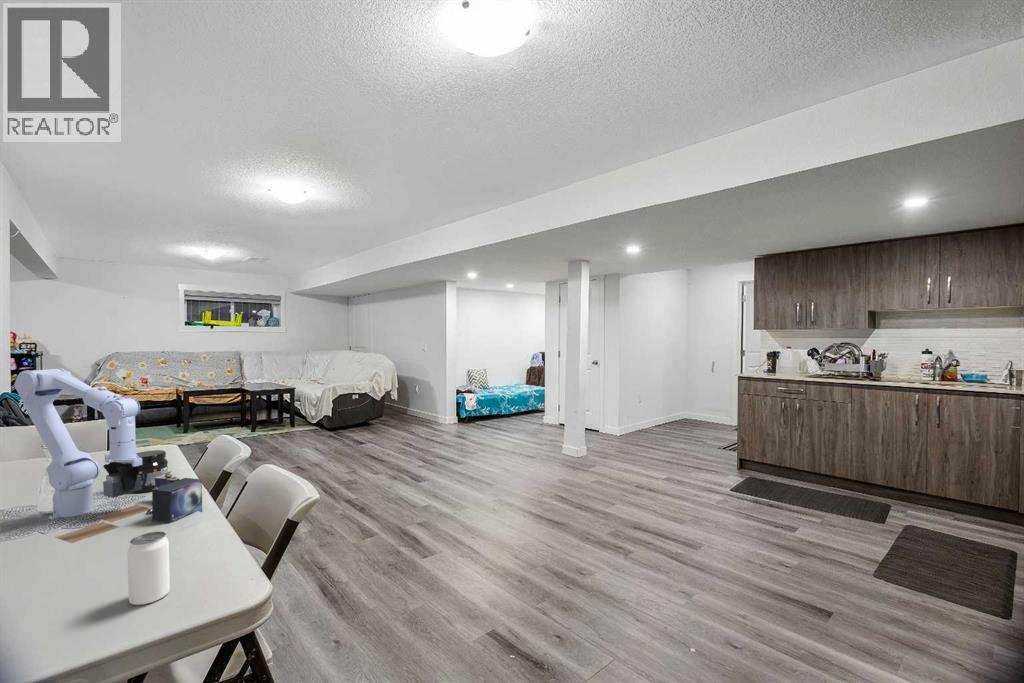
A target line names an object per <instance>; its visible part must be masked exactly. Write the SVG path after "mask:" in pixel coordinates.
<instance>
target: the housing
mask: <svg viewBox="0 0 1024 683" xmlns="http://www.w3.org/2000/svg"><path fill="white" fill-rule="evenodd" d="M102 485H103V496H104V497H107V498H111V499H114V498H117V497H120V496H123V495H124V496H125V495H127V494H131V493H134V491H138V490H141V489H142V483H141V476H140V475H138V476H137V479H136V483H135V487H134V489H131V490H127V491H125V490H124V488H123V483H122V478H121V475H120V473H119V472H118V473H114V474H110V475H109V474H107V475H106V476H105V480H104V481H103V482H102Z"/></svg>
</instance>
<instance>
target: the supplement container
mask: <svg viewBox="0 0 1024 683" xmlns="http://www.w3.org/2000/svg"><path fill="white" fill-rule="evenodd" d="M136 454H137V455H138V456H139V457H140V458H142V463H143V467H142V468H141V470H140V472H139V474H138V475H140V476H141V483H142V489H141V490H138V491H134V492H133V493H134V494H143V493H150V492H151V493H152V489H154V488H155V479H154V478H155V477H158V476H165V474H164V473H166V472H169V471H168V464H169V461H168V459H167V458H166V457H167V452H166V451H165V450H163V449H162V450H161V449H157V450H147V451H145V450H144V451H141V452H136Z"/></svg>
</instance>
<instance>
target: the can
mask: <svg viewBox="0 0 1024 683" xmlns="http://www.w3.org/2000/svg"><path fill="white" fill-rule="evenodd" d="M166 535H167V534H166V532H165V531H152V532H147V533H142V534H140V535H137V536H135V537H133V538H132V539H130V541H129V543H130V544H129V546H128V548H127V576H128V577H127V582H128V583H127V586H128V590H127V591H128V602H129V603H130V604H131V605H132V606H146V605H150V604H153V603H156V602H159V601H160V600H162V599H163V598H165V597H166V596H167V595H168V593H170V590H171V589H170V588H171V585H170V584H171V583H170V582H171V580H170V579H171V577H170V549H169V548H170V546H169V545H170V544H169V543H170V541H169V539H168V537H166Z"/></svg>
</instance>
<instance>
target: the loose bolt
mask: <svg viewBox="0 0 1024 683" xmlns="http://www.w3.org/2000/svg"><path fill="white" fill-rule="evenodd" d="M145 515H146V516H150V515H152V508H151V509H149V510H148V511H146V512H145Z"/></svg>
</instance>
